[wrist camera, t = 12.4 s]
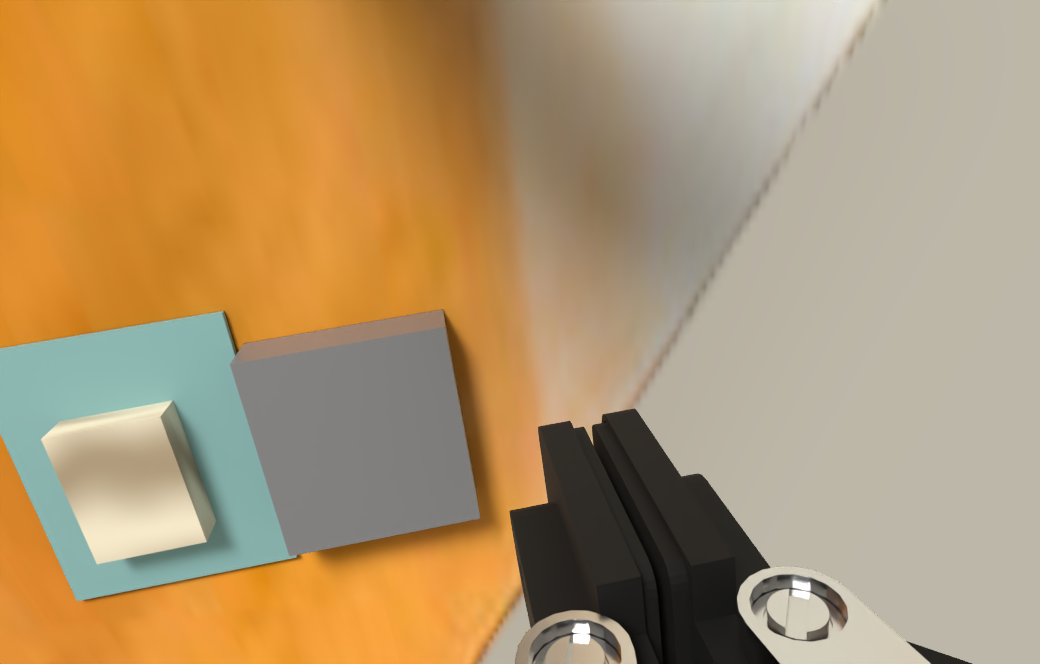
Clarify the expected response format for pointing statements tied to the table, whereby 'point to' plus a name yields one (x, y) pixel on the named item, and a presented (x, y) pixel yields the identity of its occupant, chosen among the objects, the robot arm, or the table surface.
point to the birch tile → (131, 481)
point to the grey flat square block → (359, 430)
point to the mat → (128, 384)
